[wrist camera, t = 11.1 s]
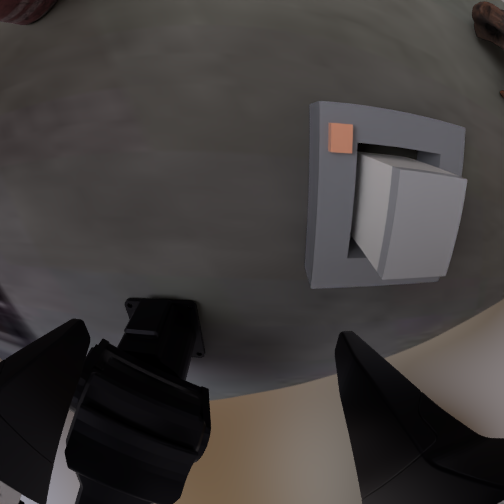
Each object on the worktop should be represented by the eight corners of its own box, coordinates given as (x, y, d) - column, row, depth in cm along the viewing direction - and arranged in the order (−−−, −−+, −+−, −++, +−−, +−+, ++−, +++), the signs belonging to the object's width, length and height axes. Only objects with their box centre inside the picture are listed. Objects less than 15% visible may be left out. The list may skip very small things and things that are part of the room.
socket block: (421, 262, 20) (441, 285, 17) (304, 266, 21) (312, 293, 17) (441, 124, 15) (470, 128, 12) (309, 104, 15) (321, 100, 12)
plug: (397, 229, 19) (445, 275, 13) (345, 228, 19) (382, 279, 13) (406, 156, 17) (467, 179, 10) (351, 150, 17) (399, 169, 11)
